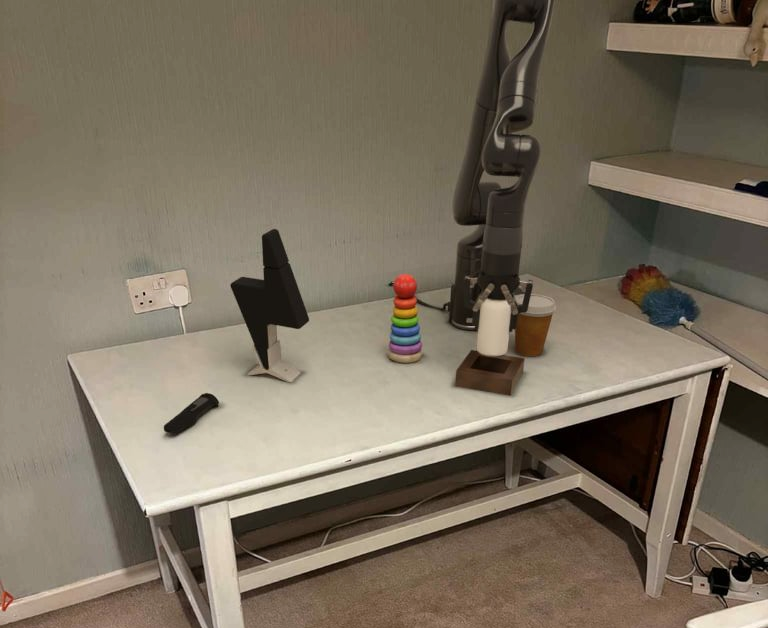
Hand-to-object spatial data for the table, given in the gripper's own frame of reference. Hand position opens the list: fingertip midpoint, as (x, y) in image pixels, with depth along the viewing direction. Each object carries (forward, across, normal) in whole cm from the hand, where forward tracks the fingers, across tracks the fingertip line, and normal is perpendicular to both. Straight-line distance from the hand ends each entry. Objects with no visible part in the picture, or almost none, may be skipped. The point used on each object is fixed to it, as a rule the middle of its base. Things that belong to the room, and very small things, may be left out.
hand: (493, 328), depth 159 cm
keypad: (+12, -1, -50) cm, 51 cm away
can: (+5, 0, 0) cm, 5 cm away
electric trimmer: (+11, +54, +31) cm, 64 cm away
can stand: (+11, 0, 0) cm, 11 cm away
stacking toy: (+12, +20, -8) cm, 24 cm away
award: (+12, +45, +8) cm, 47 cm away
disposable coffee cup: (+12, -8, -17) cm, 22 cm away
